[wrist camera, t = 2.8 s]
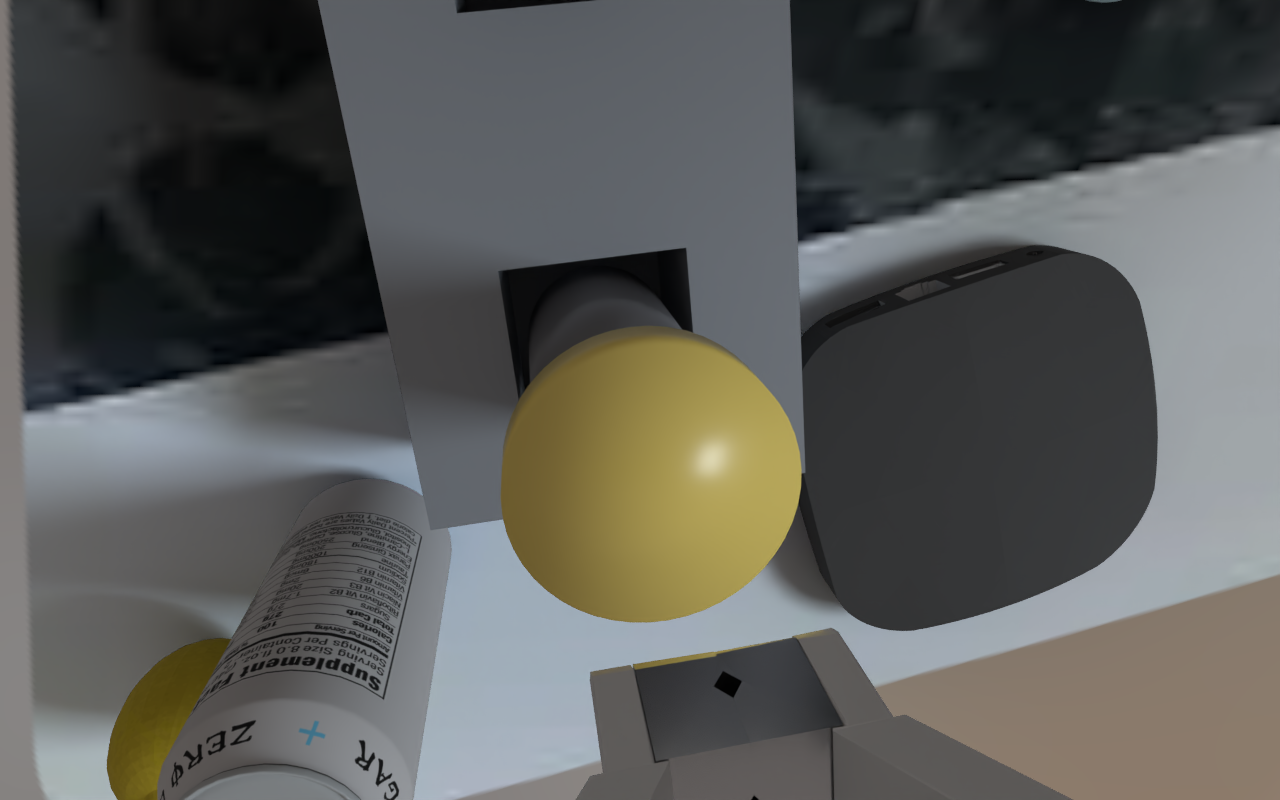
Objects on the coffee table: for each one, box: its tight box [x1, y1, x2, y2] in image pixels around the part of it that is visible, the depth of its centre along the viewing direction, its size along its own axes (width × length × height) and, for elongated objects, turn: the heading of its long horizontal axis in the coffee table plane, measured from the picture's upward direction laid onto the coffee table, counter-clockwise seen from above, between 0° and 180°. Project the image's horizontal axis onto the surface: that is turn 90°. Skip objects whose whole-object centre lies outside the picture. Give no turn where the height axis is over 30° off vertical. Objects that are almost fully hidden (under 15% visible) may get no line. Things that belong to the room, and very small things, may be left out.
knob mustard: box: [500, 266, 802, 622], centre depth 20 cm, size 6×6×11 cm
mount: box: [318, 0, 805, 530], centre depth 25 cm, size 12×22×7 cm, turn 6°
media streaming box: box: [799, 246, 1158, 631], centre depth 34 cm, size 15×15×3 cm
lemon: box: [107, 638, 231, 800], centre depth 30 cm, size 6×6×8 cm
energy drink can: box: [157, 479, 452, 800], centre depth 26 cm, size 6×6×15 cm
